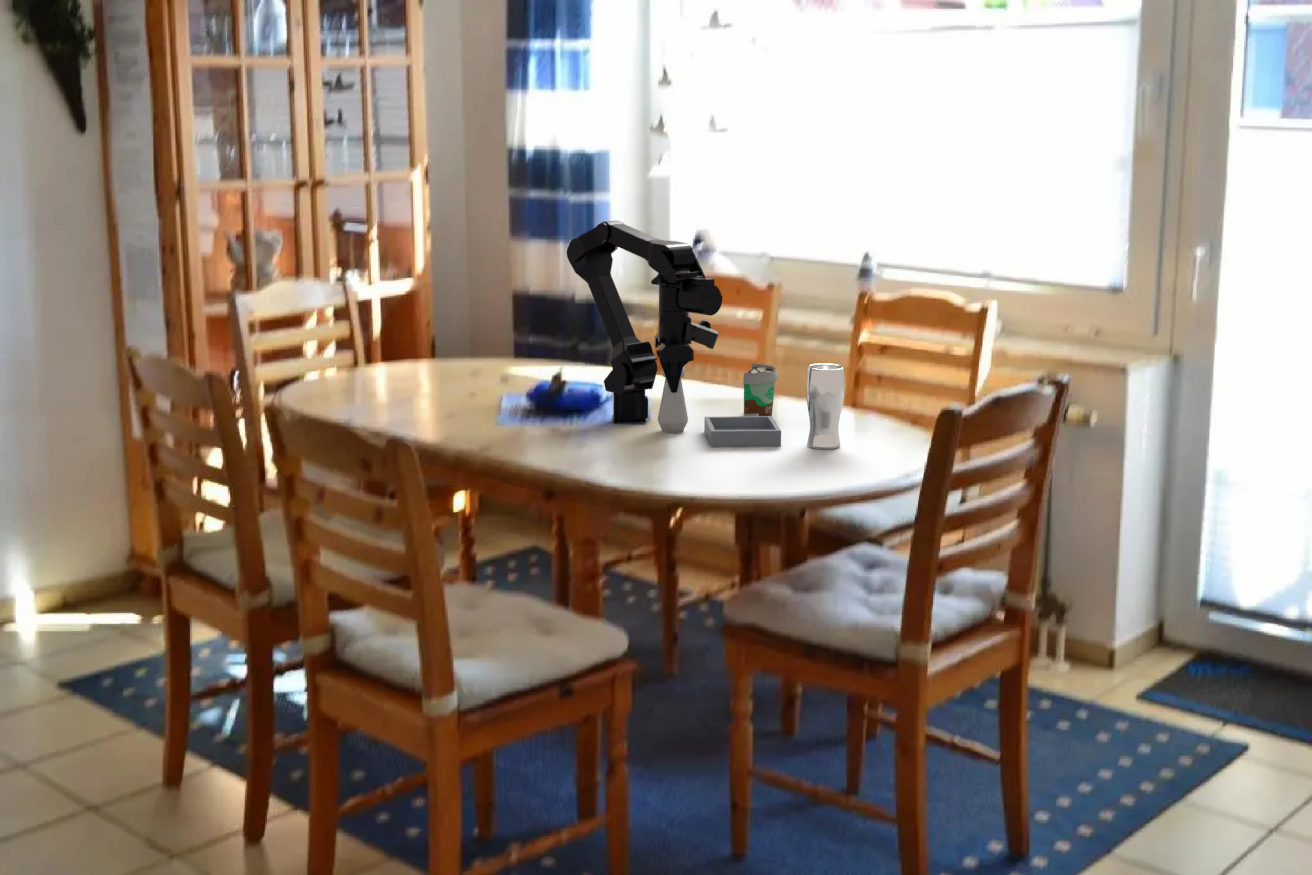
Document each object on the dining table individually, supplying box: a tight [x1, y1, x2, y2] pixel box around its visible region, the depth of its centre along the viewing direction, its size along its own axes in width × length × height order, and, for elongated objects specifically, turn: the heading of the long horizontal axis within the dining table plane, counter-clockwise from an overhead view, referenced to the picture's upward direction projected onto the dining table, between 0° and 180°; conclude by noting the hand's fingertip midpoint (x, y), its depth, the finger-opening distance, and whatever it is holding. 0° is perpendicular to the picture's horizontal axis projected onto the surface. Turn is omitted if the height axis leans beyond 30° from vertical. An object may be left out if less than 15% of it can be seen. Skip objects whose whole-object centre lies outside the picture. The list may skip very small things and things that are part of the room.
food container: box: [743, 362, 780, 417], centre depth 315 cm, size 12×6×10 cm, turn 168°
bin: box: [703, 415, 782, 448], centre depth 296 cm, size 13×13×3 cm
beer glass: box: [805, 363, 845, 451], centre depth 289 cm, size 7×7×15 cm
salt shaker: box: [657, 366, 689, 434], centre depth 301 cm, size 6×6×13 cm
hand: (673, 390), depth 301 cm, fingers closed on salt shaker, 4 cm apart
